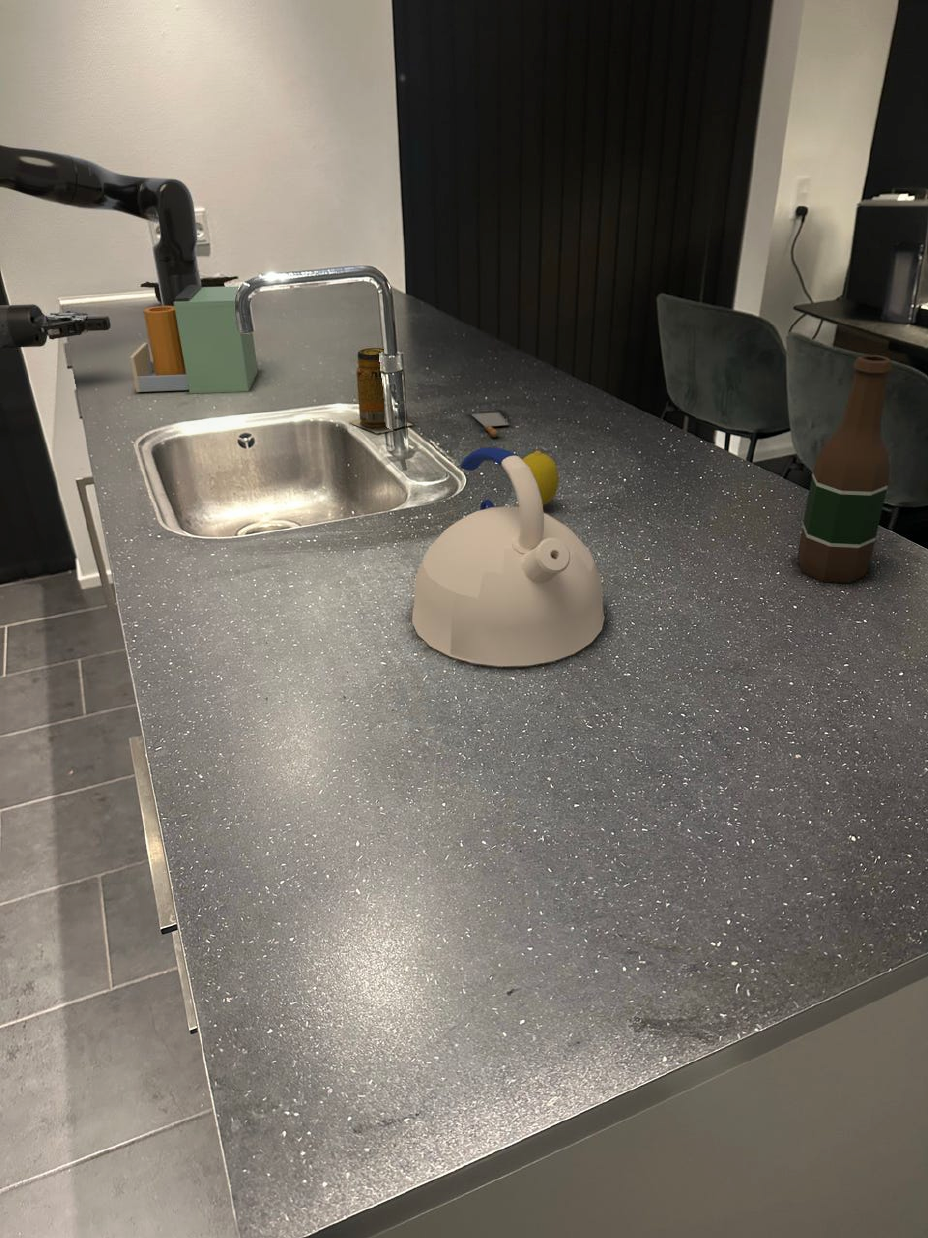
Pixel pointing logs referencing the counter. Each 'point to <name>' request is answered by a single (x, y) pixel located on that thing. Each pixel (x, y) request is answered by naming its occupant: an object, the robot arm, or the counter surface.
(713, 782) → the counter surface
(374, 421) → the condiment
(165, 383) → the beige drawer
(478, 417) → the cleaver
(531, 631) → the kettle
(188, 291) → the green open box
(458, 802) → the counter surface
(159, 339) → the jar
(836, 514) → the beer bottle
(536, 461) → the lemon
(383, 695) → the counter surface
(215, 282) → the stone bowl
